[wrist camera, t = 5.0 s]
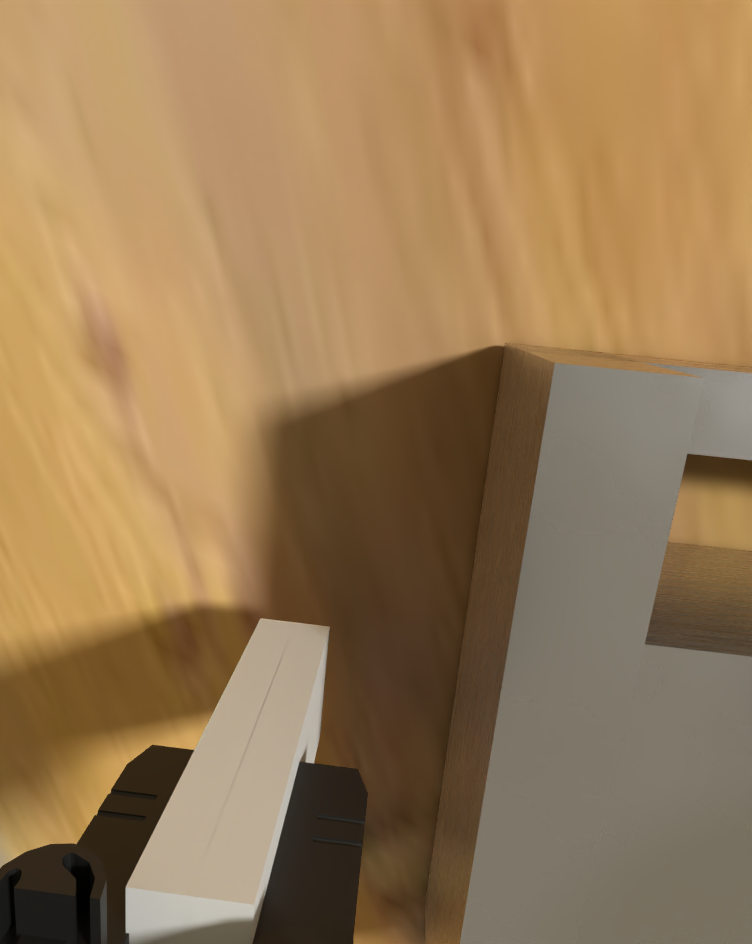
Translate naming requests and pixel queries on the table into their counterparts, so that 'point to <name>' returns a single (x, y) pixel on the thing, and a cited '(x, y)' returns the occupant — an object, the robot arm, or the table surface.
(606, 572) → the frame
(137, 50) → the table surface
